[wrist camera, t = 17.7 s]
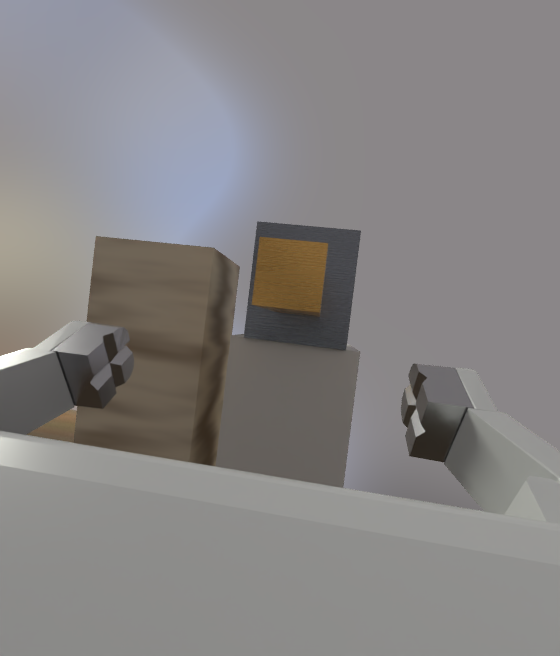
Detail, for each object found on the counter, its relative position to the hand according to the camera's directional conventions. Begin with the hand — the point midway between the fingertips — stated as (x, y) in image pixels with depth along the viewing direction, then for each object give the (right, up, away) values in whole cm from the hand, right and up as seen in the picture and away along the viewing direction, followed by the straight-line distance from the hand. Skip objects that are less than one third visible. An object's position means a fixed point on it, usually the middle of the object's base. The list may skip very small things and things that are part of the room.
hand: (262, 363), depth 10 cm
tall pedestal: (-11, -19, +20) cm, 29 cm away
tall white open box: (0, -20, +19) cm, 27 cm away
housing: (+1, 0, +13) cm, 13 cm away
